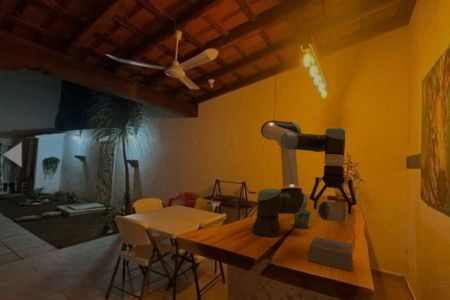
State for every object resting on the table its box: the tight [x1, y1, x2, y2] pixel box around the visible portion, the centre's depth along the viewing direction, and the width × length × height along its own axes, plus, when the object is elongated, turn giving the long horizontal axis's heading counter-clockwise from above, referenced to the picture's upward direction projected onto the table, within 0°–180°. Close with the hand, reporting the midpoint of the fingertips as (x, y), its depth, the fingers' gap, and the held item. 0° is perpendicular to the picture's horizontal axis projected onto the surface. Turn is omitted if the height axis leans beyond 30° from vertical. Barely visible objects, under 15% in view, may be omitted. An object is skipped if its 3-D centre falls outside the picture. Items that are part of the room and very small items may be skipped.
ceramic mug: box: [319, 200, 346, 222], centre depth 104 cm, size 11×8×8 cm
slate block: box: [308, 236, 353, 272], centre depth 102 cm, size 15×15×6 cm
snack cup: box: [293, 208, 312, 229], centre depth 154 cm, size 16×10×10 cm
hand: (331, 219), depth 102 cm, fingers closed on ceramic mug, 10 cm apart
